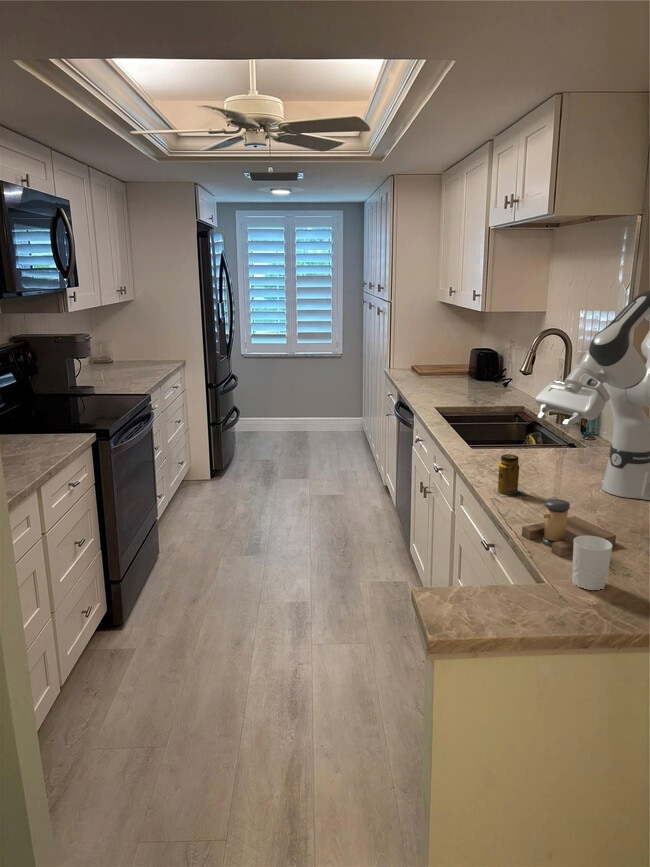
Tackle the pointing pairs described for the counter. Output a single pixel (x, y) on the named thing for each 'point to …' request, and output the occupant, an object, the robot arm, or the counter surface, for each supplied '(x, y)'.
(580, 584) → the white cup
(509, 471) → the condiment
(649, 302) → the robot arm
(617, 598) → the counter surface
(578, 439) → the counter surface
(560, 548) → the notched board
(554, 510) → the tan grey capped cylinder
